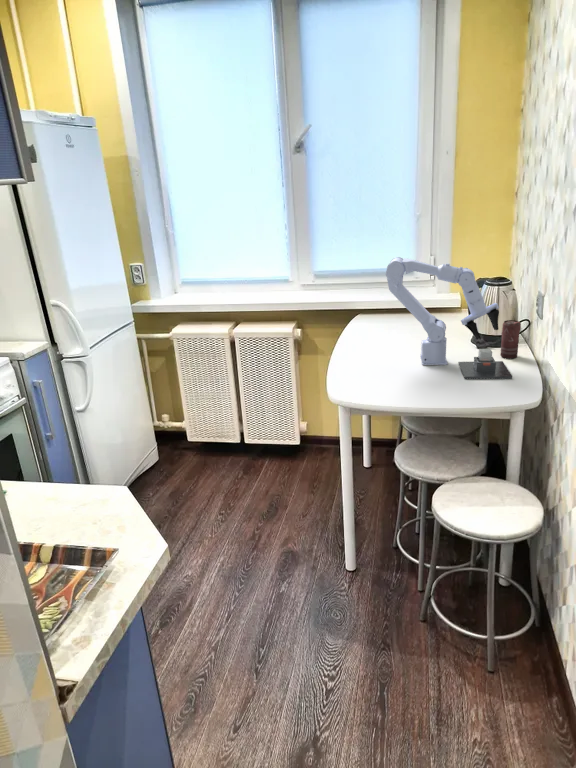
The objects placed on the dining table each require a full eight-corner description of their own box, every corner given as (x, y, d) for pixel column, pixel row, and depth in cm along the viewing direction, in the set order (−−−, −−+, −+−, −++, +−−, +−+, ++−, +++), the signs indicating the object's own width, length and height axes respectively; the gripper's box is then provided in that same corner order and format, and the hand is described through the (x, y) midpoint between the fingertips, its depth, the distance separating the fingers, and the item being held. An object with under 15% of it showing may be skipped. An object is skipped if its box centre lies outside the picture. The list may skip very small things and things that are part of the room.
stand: (464, 379, 198) (465, 367, 197) (458, 364, 213) (458, 353, 212) (511, 379, 196) (513, 366, 194) (502, 363, 211) (503, 352, 209)
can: (519, 359, 214) (522, 323, 209) (501, 359, 215) (504, 323, 210) (516, 354, 219) (519, 319, 214) (499, 354, 221) (501, 319, 216)
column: (479, 372, 203) (480, 352, 200) (477, 368, 207) (478, 348, 204) (491, 372, 202) (492, 352, 199) (489, 368, 206) (490, 348, 203)
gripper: (462, 309, 200) (475, 343, 203) (497, 292, 201) (510, 326, 204) (453, 309, 207) (466, 341, 210) (487, 292, 208) (500, 325, 211)
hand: (487, 334), depth 208 cm, fingers open, 7 cm apart
